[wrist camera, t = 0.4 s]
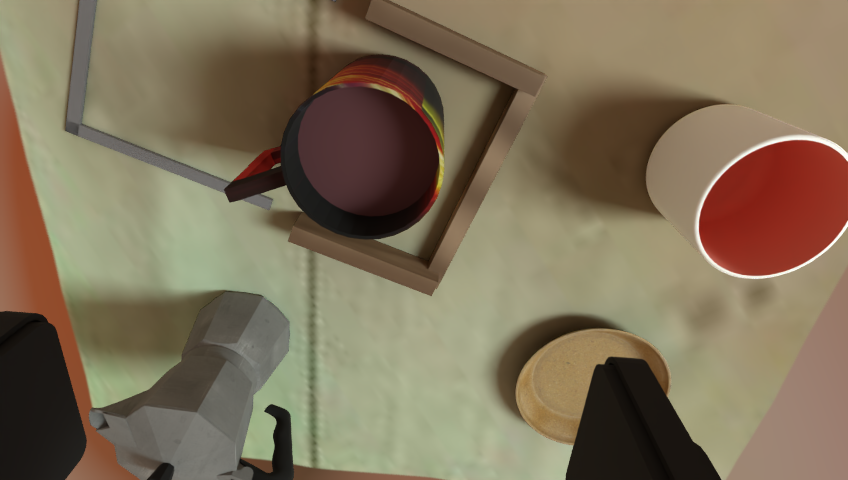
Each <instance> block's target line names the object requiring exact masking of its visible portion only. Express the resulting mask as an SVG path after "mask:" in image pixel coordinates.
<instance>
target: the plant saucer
mask: <svg viewBox="0 0 848 480" xmlns="http://www.w3.org/2000/svg"><path fill="white" fill-rule="evenodd" d="M611 356H612V357H626V358H639V359H643V360H645V361H646V362H647V363H648V365H649V366H650V368H651V370H652V372H653V373H654V375H655V377H656V378H657V380H658V382H659V384H660V385H661V387H662V389H663V391H664V392H665V394H666V396H667V397H668V396H669V393H670V389H671V373H670V369H669V366H668V364H667V362H666V359H665V358H664V356H663V355H662V354H661V352H660V351H659V350H658V349H657V348H656V347H655V346H654V345H652V344H651V343H650V342H648V341H646V340H645V339H643V338H641V337H639V336H637V335H634V334H631V333H628V332H625V331H620V330H615V329H607V328H590V329H583V330H578V331H573V332H570V333H567V334H564V335H562V336H560V337H558V338H556V339H554V340H552V341H550V342H549V343H547V344H546V345H544V346H543V347H542V348H540V349H539V350H538V351H537V352H536V353H535V354H534V355H533V356H532V357H531V358H530V359H529V360H528V361H527V363H526V364H525V366H524V367H523V368H522V370H521V372H520V374H519V377H518V380H517V384H516V391H515V392H516V402H517V406H518V409H519V411H520V413H521V415H522V417H523V418H524V420H525V421H526V422H527V424H528V425H529V426H531V427H532V428H533V429H534V430H535V431H537V432H538V433H539V434H541V435H543V436H545V437H546V438H548V439H551V440H554V441H556V442H559V443H563V444H568V445H574V442H575V439H576V435H577V431H578V427H579V424H580V420H581V416H582V412H583V409H584V405H585V401H586V398H587V394H588V390H589V386H590V383H591V379H592V375H593V371H594V369H595V366H596V365H597V364H605V361H606V360H607V358H608V357H611Z"/></svg>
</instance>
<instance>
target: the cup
mask: <svg viewBox="0 0 848 480" xmlns="http://www.w3.org/2000/svg"><path fill="white" fill-rule="evenodd" d="M646 185H647V190H648V194H649V196H650V199H651V201H652V202H653V204H654V206H655V207H656V208H657V210H658V211H659V212H660V213H661V214H662V215H663V216H664V217H665V218H666V219H667V220H668V221H669V222H670V223H671V224H672V225H673V226H674V228H675V229H676V230H677V231H678V232H679V233H680V234H681V235H682V236H683V237H684V238H685V239H686V240H687V241H688V242H689V243H690V244H691V245H692V246H693V247H694V249H695V250H696V251H697V252H698V253H699V254H700V255H701V256H702V257H703V258H704V259H705V260H706V261H707V262H708V263H709V264H710V265H712V266H713V267H714V268H716V269H717V270H719V271H721V272H723V273H725V274H728V275H731V276H735V277H740V278H750V279H760V278H769V277H774V276H779V275H782V274H785V273H788V272H791V271H794V270H796V269H798V268H800V267H802V266H804V265H806V264H808V263H810V262H811V261H813V260H815V259H816V258H817V257H819V256H820V255H822V254H823V253H824V252H825V251H826V250H828V249H829V248H830V247H831V246H832V245H833V244H834V243H835V242H836V241H837V240H838V238H839V237H840V236H841V235H842V234H843V232H844V231H845V229H846V228H847V226H848V154H847V152H846V151H845V150H844V149H842V148H841V147H840V146H839V145H837V144H836V143H834V142H832V141H830V140H828V139H825V138H823V137H820V136H818V135H815V134H813V133H810V132H808V131H805V130H803V129H801V128H798V127H796V126H793V125H791V124H788V123H786V122H783V121H781V120H778V119H776V118H773V117H771V116H768V115H766V114H763V113H761V112H758V111H756V110H754V109H751V108H748V107H745V106H740V105H731V104H721V105H713V106H709V107H705V108H702V109H699V110H696V111H694V112H692V113H690V114H688V115H686V116H684V117H683V118H681V119H680V120H678V121H677V122H676V123H674V124H673V125H672V126H671V127H670V128H669V129H668V130H667V131H666V132H665V133H664V134H663V135H662V137H661V138H660V139H659V141H658V142H657V144H656V145H655V147H654V149H653V151H652V153H651V155H650V158H649V161H648V165H647V170H646Z"/></svg>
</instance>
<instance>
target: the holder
mask: <svg viewBox="0 0 848 480" xmlns="http://www.w3.org/2000/svg"><path fill="white" fill-rule="evenodd" d="M365 19H367V20H369V21H371V22H373V23H376V24H378V25H380V26H382V27H384V28H386V29H389V30H391V31H393V32H395V33H397V34H399V35H402V36H404V37H406V38H408V39H410V40H412V41H415V42H417V43H419V44H421V45H423V46H425V47H428V48H430V49H432V50H434V51H436V52H438V53H441V54H443V55H445V56H447V57H449V58H451V59H454V60H456V61H458V62H460V63H462V64H464V65H467V66H469V67H471V68H473V69H475V70H477V71H480V72H482V73H484V74H486V75H488V76H490V77H493V78H495V79H497V80H499V81H501V82H504V83H506V84H508V85H510V86H512V87H514V88H515V89H514V91H513V93H512V95H511V97H510V99H509V101H508V103H507V105H506V107H505V109H504V111H503V113H502V115H501V117H500V119H499V121H498V123H497V125H496V127H495V129H494V131H493V133H492V135H491V137H490V139H489V141H488V143H487V145H486V147H485V149H484V151H483V153H482V155H481V157H480V159H479V161H478V163H477V165H476V167H475V169H474V171H473V173H472V175H471V177H470V179H469V181H468V183H467V185H466V187H465V189H464V191H463V193H462V195H461V197H460V199H459V201H458V203H457V205H456V207H455V209H454V211H453V213H452V215H451V217H450V219H449V221H448V223H447V225H446V227H445V229H444V231H443V233H442V235H441V237H440V239H439V241H438V243H437V245H436V247H435V249H434V251H433V253H432V255H431V258H430V260H429V261H426V260H424V259H421V258H419V257H416V256H414V255H411V254H408V253H406V252H403V251H401V250H398V249H396V248H393V247H391V246H388V245H386V244H383V243H380V242H378V241H375V240H373V239H369V240H363V239H355V238H348V237H345V236H342V235H339V234H335V233H333V232H331V231H329V230H327V229H325V228H323V227H321V226H320V225H319V224H317V223H316V222H315V221H313V220H312V219H311V218H309V217H308V216H307V215H306V214H305V213H304V212H302V213H301V214H300V216H299V217H298V219H297V221H296V222H295V224H294V226H293V228H292V231H291V234H290V237H289V239H288V241H289V242H291V243H294V244H296V245H299V246H302V247H304V248H307V249H310V250H312V251H315V252H317V253H320V254H323V255H325V256H328V257H330V258H333V259H336V260H338V261H341V262H344V263H346V264H349V265H351V266H354V267H357V268H359V269H362V270H364V271H367V272H370V273H372V274H375V275H378V276H380V277H383V278H385V279H388V280H391V281H393V282H396V283H398V284H401V285H404V286H406V287H409V288H412V289H414V290H417V291H419V292H422V293H425V294H427V295H430V296H432V294H433V292H434V290H435V288H436V289H437V288H438V286H439V284H440V282H441V280H442V278H443V276H444V274H445V272H446V270H447V268H448V267H449V265H450V263H451V261H452V259H453V257H454V255H455V253H456V251H457V249H458V247H459V246H460V244H461V242H462V240H463V238H464V236H465V234H466V232H467V230H468V228H469V226H470V224H471V223H472V221H473V219H474V217H475V215H476V213H477V211H478V209H479V207H480V205H481V203H482V201H483V200H484V198H485V196H486V194H487V192H488V190H489V188H490V186H491V184H492V182H493V180H494V179H495V177H496V175H497V173H498V171H499V169H500V167H501V165H502V163H503V161H504V159H505V157H506V156H507V154H508V152H509V150H510V148H511V146H512V144H513V142H514V140H515V138H516V136H517V135H518V133H519V131H520V129H521V127H522V125H523V123H524V121H525V119H526V117H527V115H528V113H529V112H530V110H531V108H532V106H533V104H534V102H535V100H536V98H537V96H538V94H539V92H540V90H541V89H542V87H543V85H544V83H545V81H546V79H547V77H548V76H546V75H545V74H544V73H542V72H540V71H538V70H536V69H534V68H532V67H529V66H527V65H525V64H523V63H521V62H519V61H517V60H515V59H512V58H510V57H508V56H506V55H504V54H502V53H500V52H498V51H495V50H493V49H491V48H489V47H487V46H485V45H483V44H481V43H478V42H476V41H474V40H472V39H470V38H468V37H466V36H464V35H461V34H459V33H457V32H455V31H453V30H451V29H449V28H447V27H444V26H442V25H440V24H438V23H436V22H434V21H432V20H430V19H427V18H425V17H423V16H421V15H419V14H417V13H415V12H413V11H410V10H408V9H406V8H404V7H402V6H400V5H398V4H395V3H393V2H391V1H389V0H371V3H370V6H369V9H368V12H367V14H366V17H365Z"/></svg>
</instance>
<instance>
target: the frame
mask: <svg viewBox="0 0 848 480" xmlns="http://www.w3.org/2000/svg"><path fill="white" fill-rule="evenodd" d="M332 1H334V2H336V0H332ZM96 3H97V0H80V2H79V11H78V20H77V29H76V38H75V47H74V57H73V66H72V75H71V84H70V93H69V102H68V111H67V120H66V130H65V131H67V132H69V133H72V134H74V135H77V136H79V137H82V138H85V139H87V140H90V141H92V142H95V143H97V144H100V145H103V146H105V147H108V148H110V149H113V150H115V151H118V152H121V153H123V154H126V155H128V156H131V157H133V158H136V159H139V160H141V161H144V162H146V163H149V164H151V165H154V166H156V167H159V168H162V169H164V170H167V171H169V172H172V173H174V174H177V175H180V176H182V177H185V178H187V179H190V180H192V181H195V182H198V183H200V184H203V185H205V186H208V187H210V188H213V189H216V190H218V191H221V192H223V193H225V192H224V189H225V188H226V187H227V186H228V185H229V184H230V183H231V182H228V181H226V180H223V179H221V178H218V177H215V176H213V175H210V174H208V173H205V172H203V171H200V170H198V169H195V168H193V167H190V166H187V165H185V164H182V163H180V162H177V161H175V160H172V159H170V158H167V157H165V156H162V155H160V154H157V153H154V152H152V151H149V150H147V149H144V148H142V147H139V146H137V145H134V144H132V143H129V142H126V141H124V140H121V139H119V138H116V137H114V136H111V135H109V134H106V133H104V132H101V131H99V130H96V129H93V128H91V127H88V126H86V125H83V124H82V116H83V108H84V100H85V92H86V84H87V76H88V68H89V60H90V51H91V43H92V35H93V27H94V19H95V11H96ZM242 200H244V201H246V202H249V203H251V204H254V205H257V206H259V207H262V208H264V209H267V210H270V207H271V204H272V201H273V199H271V198H269V197H266V196H264V195H261V194H257V195H254V196H251V197H248V198H245V199H242Z"/></svg>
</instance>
